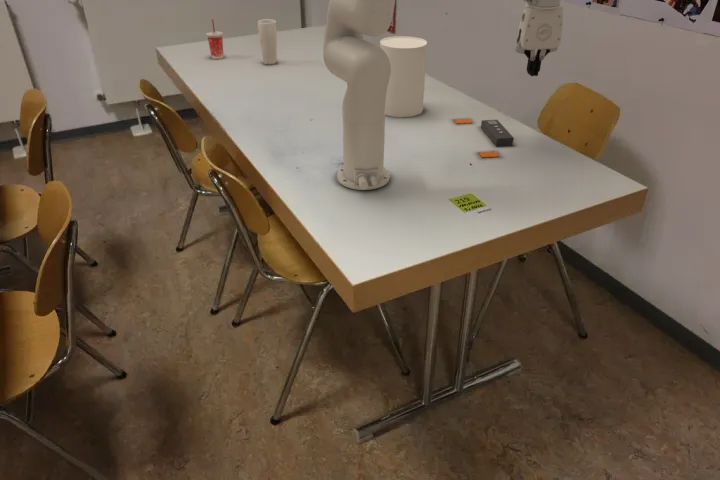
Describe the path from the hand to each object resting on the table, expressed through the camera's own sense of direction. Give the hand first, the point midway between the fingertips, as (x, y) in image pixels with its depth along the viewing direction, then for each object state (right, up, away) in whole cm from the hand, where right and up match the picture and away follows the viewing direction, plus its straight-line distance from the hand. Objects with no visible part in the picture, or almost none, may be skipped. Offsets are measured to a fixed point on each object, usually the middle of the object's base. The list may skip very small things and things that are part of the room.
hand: (532, 74), depth 150 cm
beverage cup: (-100, +27, +71) cm, 126 cm away
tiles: (-14, -15, +8) cm, 22 cm away
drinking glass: (-79, +23, +65) cm, 105 cm away
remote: (-8, -15, +8) cm, 18 cm away
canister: (-33, -3, +26) cm, 42 cm away
